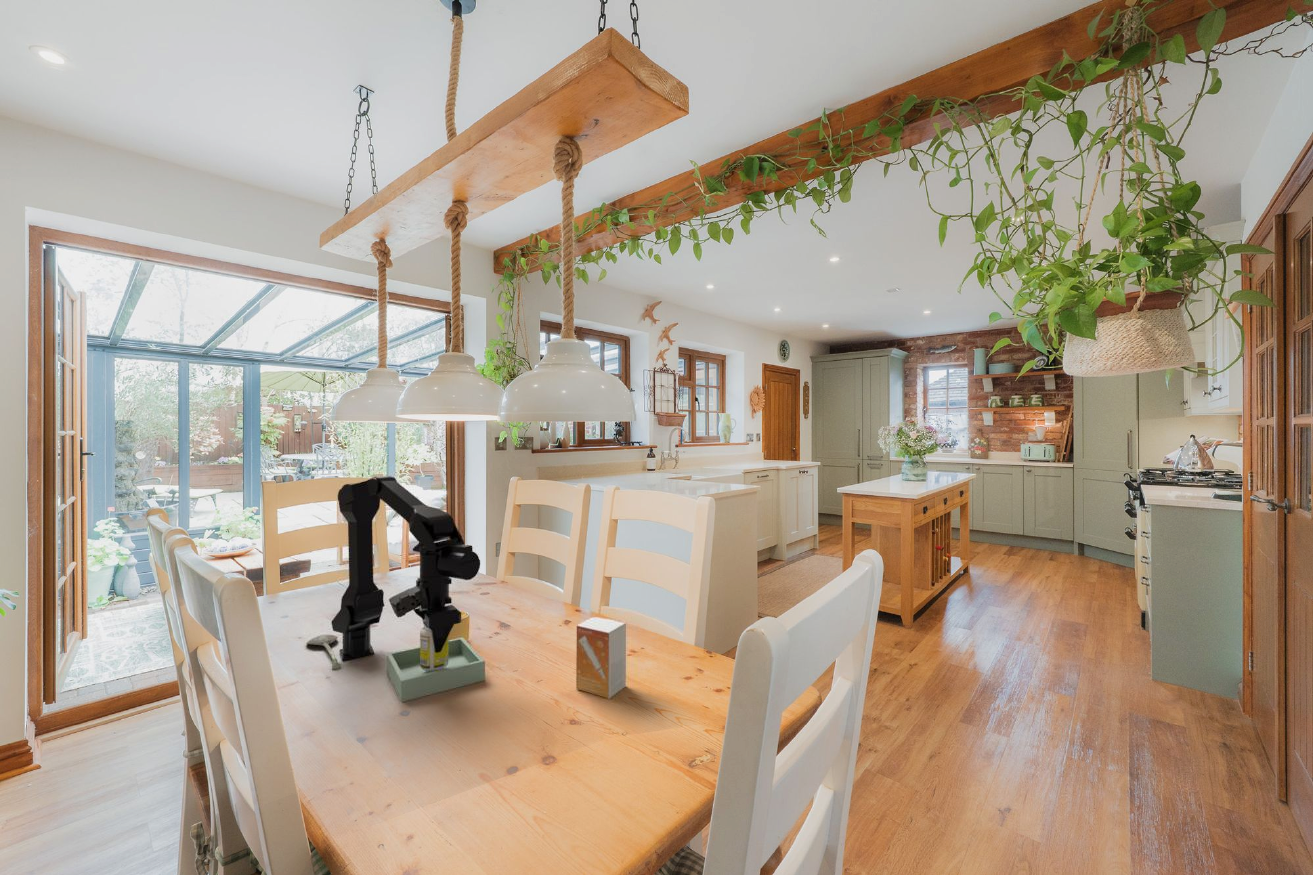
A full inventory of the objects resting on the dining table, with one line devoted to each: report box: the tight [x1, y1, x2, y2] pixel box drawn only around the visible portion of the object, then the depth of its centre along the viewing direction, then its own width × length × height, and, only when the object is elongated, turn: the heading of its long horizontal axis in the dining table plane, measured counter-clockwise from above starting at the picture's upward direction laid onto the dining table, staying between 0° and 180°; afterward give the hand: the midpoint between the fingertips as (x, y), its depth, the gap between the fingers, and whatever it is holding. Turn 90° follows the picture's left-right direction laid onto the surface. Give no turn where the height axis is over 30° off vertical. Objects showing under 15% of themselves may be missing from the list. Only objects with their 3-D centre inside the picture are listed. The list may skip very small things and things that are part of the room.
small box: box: [575, 616, 627, 700], centre depth 110 cm, size 8×6×13 cm
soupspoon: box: [305, 634, 342, 670], centre depth 127 cm, size 22×3×7 cm
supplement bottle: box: [419, 619, 450, 671], centre depth 115 cm, size 6×6×10 cm
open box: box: [386, 637, 486, 703], centre depth 115 cm, size 16×16×4 cm
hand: (434, 647), depth 115 cm, fingers closed on supplement bottle, 5 cm apart
